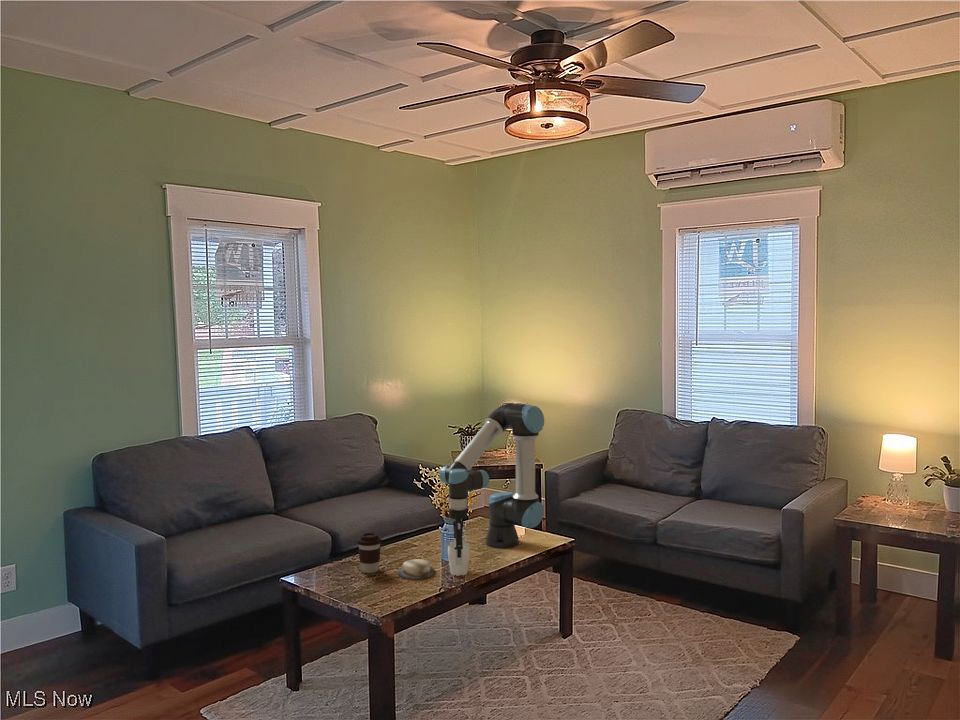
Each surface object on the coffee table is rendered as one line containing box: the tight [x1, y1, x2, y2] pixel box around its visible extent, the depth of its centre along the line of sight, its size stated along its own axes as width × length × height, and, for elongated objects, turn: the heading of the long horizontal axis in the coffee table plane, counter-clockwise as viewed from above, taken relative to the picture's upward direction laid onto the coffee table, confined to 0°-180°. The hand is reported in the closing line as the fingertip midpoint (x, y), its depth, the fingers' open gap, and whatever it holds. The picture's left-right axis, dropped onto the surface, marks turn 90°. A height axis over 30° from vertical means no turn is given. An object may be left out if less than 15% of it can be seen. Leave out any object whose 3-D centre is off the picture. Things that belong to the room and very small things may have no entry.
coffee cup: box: [356, 532, 382, 574], centre depth 324 cm, size 10×10×15 cm
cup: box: [447, 540, 471, 577], centre depth 320 cm, size 9×9×12 cm
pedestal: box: [397, 558, 436, 581], centre depth 320 cm, size 15×15×4 cm
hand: (458, 559), depth 320 cm, fingers open, 13 cm apart
